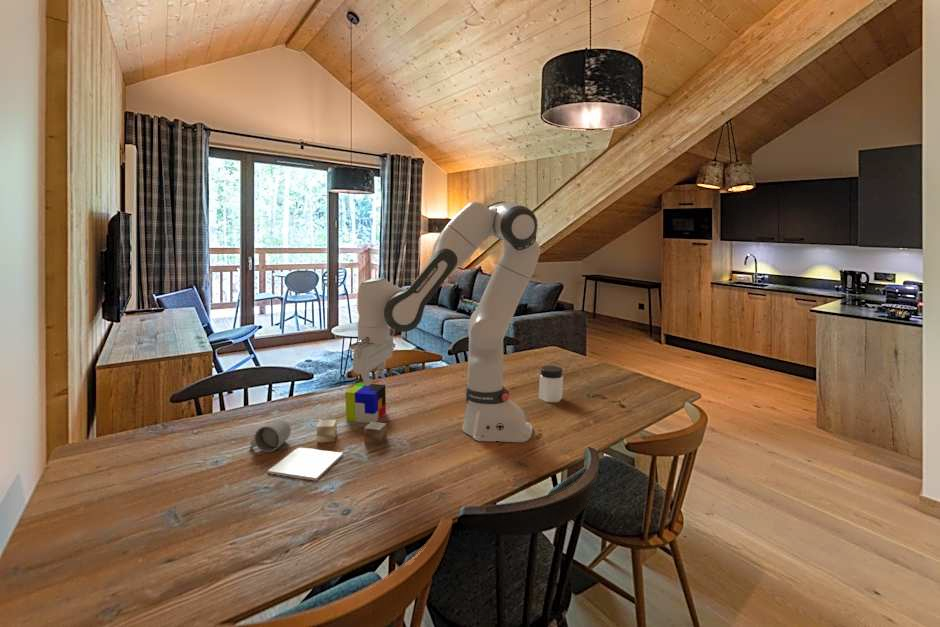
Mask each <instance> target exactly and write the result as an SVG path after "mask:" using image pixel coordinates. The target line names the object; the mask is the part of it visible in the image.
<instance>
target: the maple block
mask: <svg viewBox="0 0 940 627" xmlns="http://www.w3.org/2000/svg"><path fill="white" fill-rule="evenodd" d="M337 424H338V423H337V419H319V420H318V423H317V425H316V443H331V442H332V443H333V442H335V441H336V439H337V438H336V437H337V436H338V432H337V431H338V429H337V427H338V426H337ZM335 438H336V439H335Z"/></svg>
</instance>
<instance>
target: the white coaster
mask: <svg viewBox="0 0 940 627" xmlns="http://www.w3.org/2000/svg"><path fill="white" fill-rule="evenodd" d="M343 456H344V453H343V452H340V451H338V452H337V451H331V450H330V451H329V450H324V449H323V450H322V449H315V448H308V447H299V446H298V447H296V448H295V449H294V450H293V451H292V452H290V453H289V454H287V455H286V456H285V457H283V459H281V460H280V461H278V462H277V463H275V464H274V465H273V466H272V467H270V469H268V470H267V474H268V473H270V474H269V475H273V474H276V475H275V476H280V475H282V476H281V477H287V476H289V478H295V479H300V480H301V479H302V480H307V481H308V480H309V481H314V482H315V481H318V480H319V479H320V478H321V477H322V476H323V475H324V474H325V473H326V472H328V471H329V469H331V467H333V466H334V465H335V464H336V463H337V462H338V461H339V460H340V459H341V458H343Z"/></svg>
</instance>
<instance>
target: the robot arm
mask: <svg viewBox="0 0 940 627" xmlns="http://www.w3.org/2000/svg"><path fill="white" fill-rule="evenodd" d="M537 233H538V219H537V217H536V215H535V213H534V212H533V211H532V210H531V209H530V208H529V207H527V206H523V205H521V204H519V203H515V202H506V201H497V202H494V203H492V204H490V205H485V204H483V203H481V202H477V201H472V202H470V203H468V204H467V205H465V206H464V207H463V208H461V209H460V210H459V212H457V214H455V215H454V216H453V217H452V218H451V219H450V221H449V222H447V224H446V225H445V226H444V228H443V230H441V232H440V233H439V235H438V237H437V238H436V240H435V241H434V243H433V248H432V251H431V255H430V257H429V260H428V262H427V264H426V266H425V267H424V268H423V270H422V271H421V272H420V274H419V275H418V276H417V277H416V278H415V280H414V281H413V282H412V283H411V284H410V286H409V287H408V288H402V287H399V286H397V285H395V284H392V283H391V282H390V281H389V280H387V279H386V278H383V277H376V278H370V279H366V280H364V281H362V283H360V285H359V287H358V289H357V302H356V305H357V308H356V309H357V313H358V321H357V341H358V342H357V345H356V346H355V348H354V351H353V359H352V371H353V373H354V374H356V375H361V378H362V383H363V385H364V386H369V385H370V384H372V378H370V375H371V371H372V370H374V369H375V368H377V370H376V376H377V377H383V376H384V375H385V368H386V364H387V360H389V359H390V358H392V355H393V352H394V336H395V331H396V332H401V333H406V332H410V331H412V330H414V329H416V327H417V326H419V324H420V323H421V320H422V319H423V314H424V310H425V308H426V305H427V304H428V302H429V301H430V300H431V299H432V297H433V296H434V295H435V293H436V292H437V291H438V289H439V288H440V287H441V286H442V284H443V283H444V282H445V281H446V280H447V278H449V276H451V274H453V273H454V272H455V271H456V270H458V269H459V268H460V267H461V266H462V265H464V264H465V263H466V262H467V261H468V260H469V259H470V258H471V257H472V256H473V255H474V253H475V252H476V251H477V250H479V248H480V246H481V245H482V244H483V242H484V241H486V240H487V239H488V238H490V237H492V236H494V237H496V238H497V239H499V240H501V241H503V250H502V254H501V256H500V258H499V260H498V261H497V264H496V266H495V268H494V270H493V272H492V273H491V276H490V278H489V280H488V282H487V285H486V287H485V288H484V292H483V294H482V296H481V299H480V300H479V302H478V305H477V307H476V309H475V310H474V311H473V312H472V314H471V315H470V318H469V322H468V328H467V329H468V330H467V333H468V357H467V358H468V359H467V360H468V362H467V366H468V367H467V386H466V388H465V401H466V410H465V414H464V420H463V424H462V426H461V429H462V431H463V433H465V434H467V435H468V436H470V437H471V438H472V439H473V440H475V441H476V440H477V442H496V441H499V442H501V443H502V442H504V443H505V442H506V443H525V442H527V441H529V440H530V439H531V438H532V436H533V431H534V430H533V425H532V424H531V423H530V422H528V421H527V420H526V415H525V411H524V410H523V409H522V407H520V406H518V405H517V404H516V403H515V402H514V401H512V400H511V399H510V396H509V395H510V391H509V390H510V389H509V387H507V388H506V387H504V386H503V383H504V378H503V377H504V338H505V336H506V334H507V332H508V330H509V327H510V325H511V322H512V320H513V318H514V316H515V313H516V310H517V307H518V305H519V303H520V301H521V299H522V296H524V292H525V290H527V287H528V285H529V283H530V281H531V279H532V277H533V274H534V272H535V270H536V267H537V265H538V261H539V258H540V254H541V246H540V244H539V243H538V241H537ZM499 442H498V443H499Z"/></svg>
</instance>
